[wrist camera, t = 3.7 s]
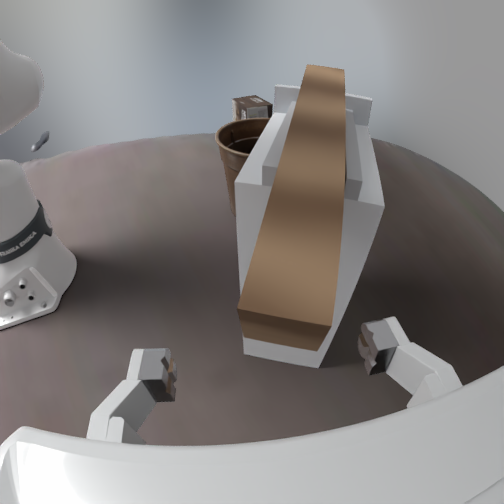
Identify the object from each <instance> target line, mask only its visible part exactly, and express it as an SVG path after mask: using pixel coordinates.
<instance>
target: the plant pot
mask: <svg viewBox="0 0 504 504" xmlns="http://www.w3.org/2000/svg"><path fill="white" fill-rule="evenodd" d="M269 120H270V118H248V119H242V120H237V121H233V122H231V123H228V124H226V125H224V126H222V127H221V128H220V129H219V130H218V131H217V132H216V136H215V138H216V142H217V144H218V145H219V149H220V155H221V159H222V161H223V163H224V168H225V174H226V180H227V186H228V192H229V199H230V206H231V210H232V213H233V214H234V216H235V217H236V203H235V180H236V178H237V176H238V175H239V173H240V171H241V169H242V167H243V166H244V164H245V162H246V160H247V158H248V157H249V155H250V153H251V151H252V150H253V148H254V146H255V144H256V143H257V141H258V139H259V137H260V136H261V134H262V132H263V130H264V129H265V127H266V125H267V124H268V122H269Z"/></svg>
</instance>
